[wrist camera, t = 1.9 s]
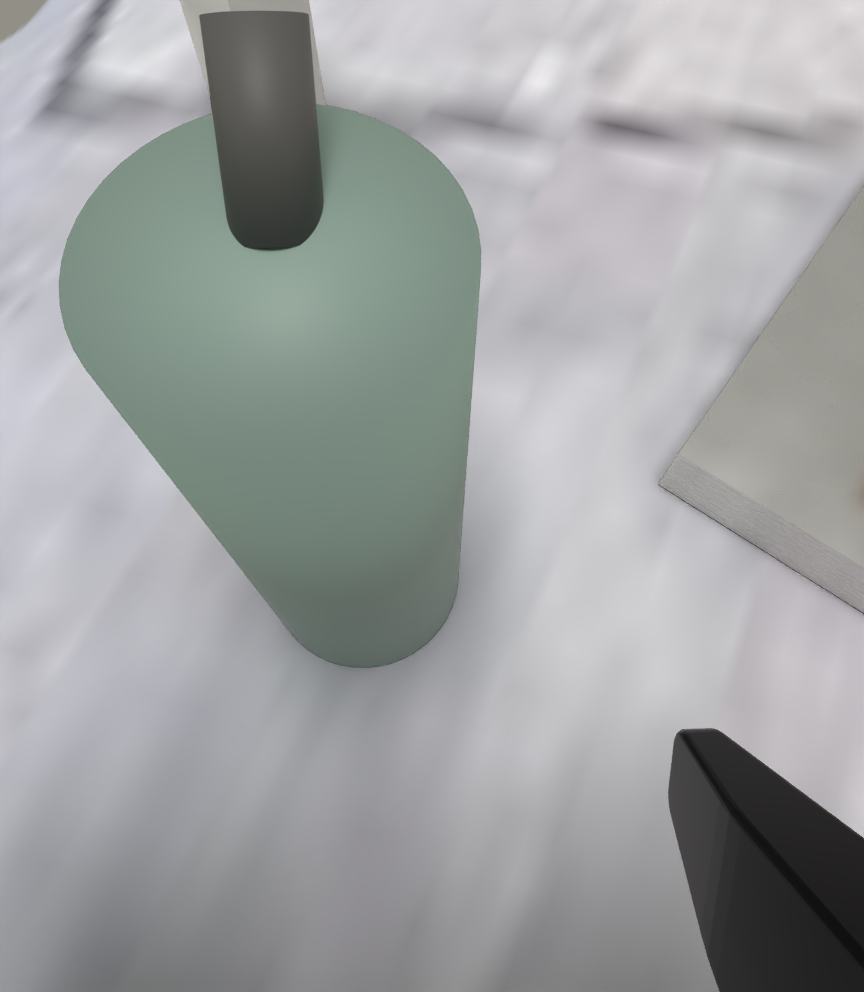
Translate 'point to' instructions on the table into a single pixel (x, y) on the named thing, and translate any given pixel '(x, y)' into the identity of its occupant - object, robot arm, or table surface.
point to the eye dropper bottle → (197, 3)
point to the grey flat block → (795, 427)
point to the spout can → (293, 339)
